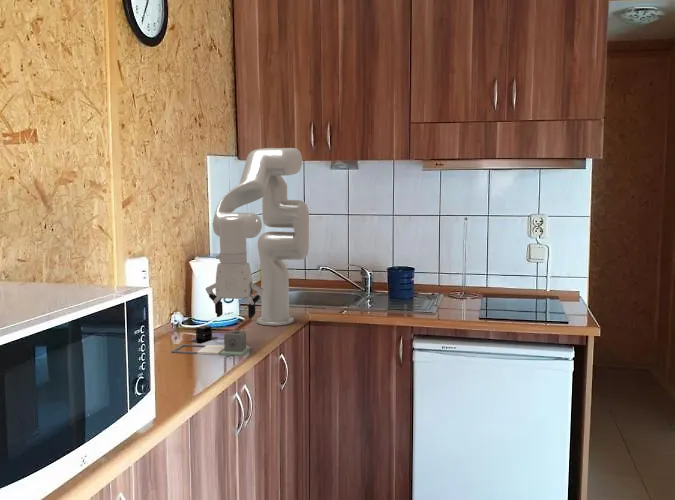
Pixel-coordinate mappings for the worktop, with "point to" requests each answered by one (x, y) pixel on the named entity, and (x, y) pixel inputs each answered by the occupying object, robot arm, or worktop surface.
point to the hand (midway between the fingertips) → (235, 316)
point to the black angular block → (203, 335)
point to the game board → (211, 350)
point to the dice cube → (235, 341)
